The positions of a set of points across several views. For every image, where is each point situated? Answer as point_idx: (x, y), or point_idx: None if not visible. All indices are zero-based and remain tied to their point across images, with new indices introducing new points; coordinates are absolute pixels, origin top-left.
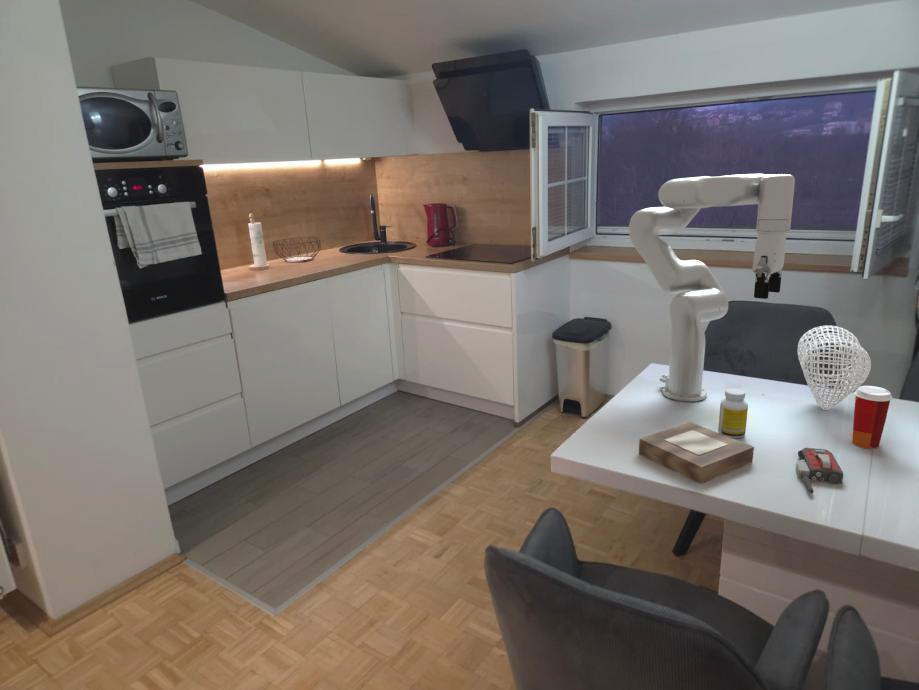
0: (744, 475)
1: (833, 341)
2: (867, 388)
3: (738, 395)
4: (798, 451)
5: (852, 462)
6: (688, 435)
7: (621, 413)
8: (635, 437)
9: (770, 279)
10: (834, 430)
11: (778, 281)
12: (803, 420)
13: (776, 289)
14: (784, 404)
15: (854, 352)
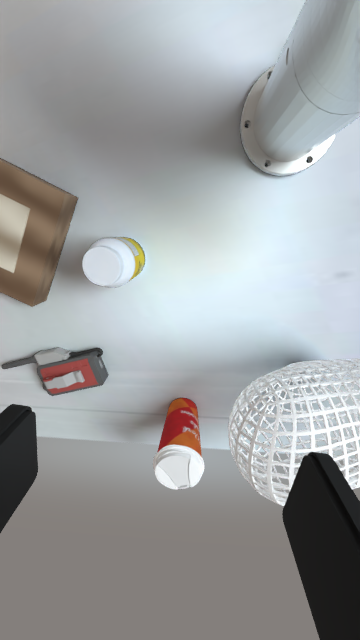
0: (5, 297)
1: (289, 475)
2: (184, 466)
3: (86, 275)
4: (97, 349)
5: (119, 397)
6: (3, 208)
7: (109, 19)
8: (16, 105)
9: (357, 593)
10: (213, 380)
11: (318, 620)
12: (235, 344)
13: (291, 524)
14: (299, 313)
15: None
